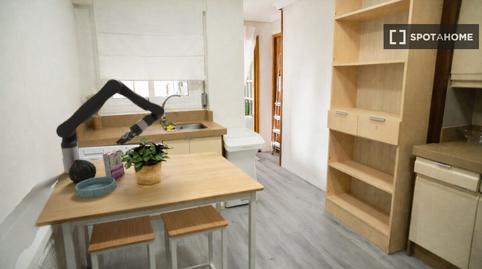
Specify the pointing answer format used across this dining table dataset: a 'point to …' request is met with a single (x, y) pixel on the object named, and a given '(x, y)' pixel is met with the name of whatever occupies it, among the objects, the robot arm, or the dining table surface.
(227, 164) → the dining table surface
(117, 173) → the candy bar box
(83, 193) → the bowl
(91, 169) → the squash
